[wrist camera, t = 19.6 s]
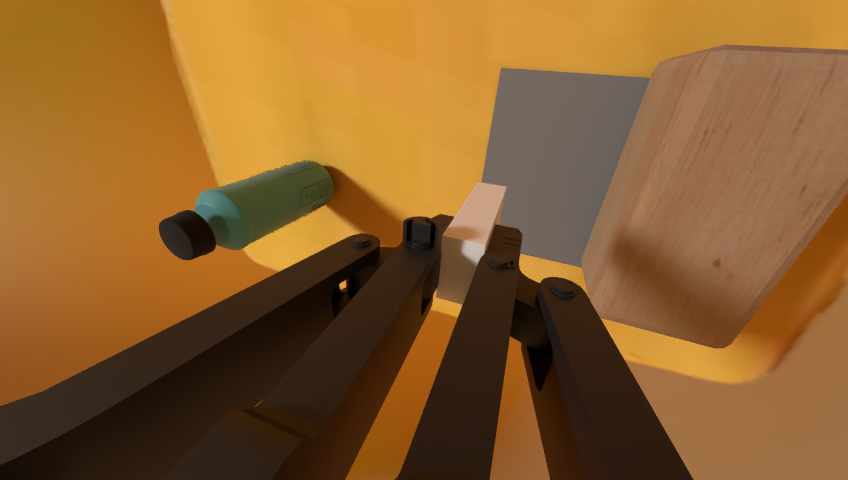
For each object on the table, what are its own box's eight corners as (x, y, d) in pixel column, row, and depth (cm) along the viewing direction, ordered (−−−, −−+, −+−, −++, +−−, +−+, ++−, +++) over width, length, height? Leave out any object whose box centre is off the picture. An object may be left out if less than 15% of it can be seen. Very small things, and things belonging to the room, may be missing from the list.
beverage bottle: (311, 146, 40) (142, 186, 23) (349, 178, 40) (208, 240, 23) (296, 183, 43) (140, 241, 27) (331, 212, 44) (197, 288, 27)
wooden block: (974, 51, 14) (729, 357, 23) (809, 67, 22) (679, 286, 31) (712, 41, 16) (588, 319, 26) (654, 58, 25) (577, 263, 34)
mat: (501, 68, 29) (501, 68, 29) (788, 87, 23) (792, 87, 23) (472, 240, 38) (471, 242, 37) (673, 286, 32) (675, 288, 32)
